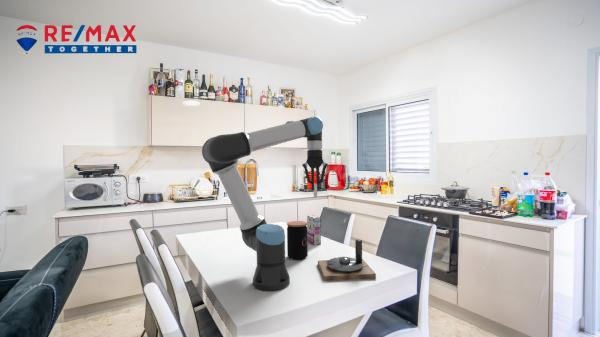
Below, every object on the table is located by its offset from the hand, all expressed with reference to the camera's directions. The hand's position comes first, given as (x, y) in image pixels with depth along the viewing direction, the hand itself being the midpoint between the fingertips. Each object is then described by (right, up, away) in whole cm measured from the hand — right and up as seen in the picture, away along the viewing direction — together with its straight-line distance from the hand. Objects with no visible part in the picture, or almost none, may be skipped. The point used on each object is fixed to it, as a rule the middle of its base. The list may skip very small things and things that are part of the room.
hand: (315, 196), depth 148 cm
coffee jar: (-9, -33, +8) cm, 35 cm away
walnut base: (+13, -32, -14) cm, 37 cm away
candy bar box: (+1, -32, +36) cm, 48 cm away
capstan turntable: (+13, -30, -14) cm, 36 cm away
